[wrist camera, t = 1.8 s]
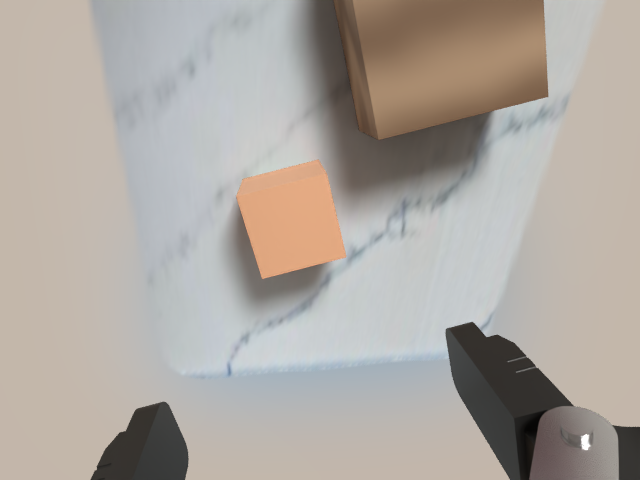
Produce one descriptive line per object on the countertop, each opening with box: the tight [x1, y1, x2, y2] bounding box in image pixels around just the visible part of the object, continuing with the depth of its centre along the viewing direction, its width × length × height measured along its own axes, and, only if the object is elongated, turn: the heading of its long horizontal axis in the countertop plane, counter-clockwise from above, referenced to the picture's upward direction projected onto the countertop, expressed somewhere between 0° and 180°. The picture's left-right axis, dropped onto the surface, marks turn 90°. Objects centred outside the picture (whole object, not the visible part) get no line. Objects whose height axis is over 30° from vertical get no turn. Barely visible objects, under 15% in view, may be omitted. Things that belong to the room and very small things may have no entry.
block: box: [236, 160, 346, 279], centre depth 29 cm, size 6×6×6 cm
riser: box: [333, 0, 548, 140], centre depth 25 cm, size 12×10×6 cm
